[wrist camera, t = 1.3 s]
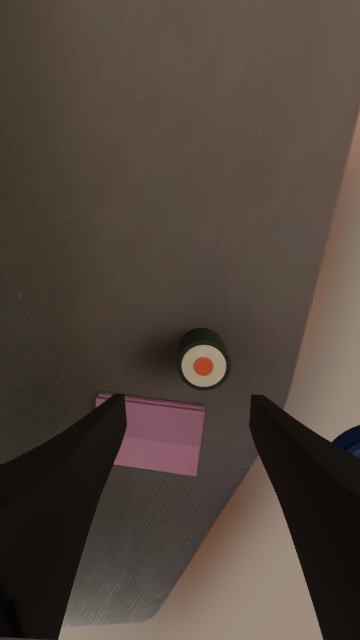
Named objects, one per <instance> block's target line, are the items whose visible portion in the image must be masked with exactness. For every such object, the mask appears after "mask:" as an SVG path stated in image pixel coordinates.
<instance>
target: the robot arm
mask: <svg viewBox="0 0 360 640" xmlns="http://www.w3.org/2000/svg"><path fill="white" fill-rule="evenodd" d="M249 427H250V431H251V434H252V437H253V440H254V444H255V446H256V449H257V451H258V453H259V456H260V458H261V460H262V463H263V465H264V467H265V469H266V471H267V474H268V476H269V478H270V481H271V483H272V485H273V487H274V490H275V492H276V494H277V496H278V499H279V502H280V505H281V507H282V510H283V513H284V516H285V519H286V522H287V525H288V527H289V531H290V533H291V537H292V540H293V542H294V545H295V549H296V552H297V555H298V558H299V561H300V564H301V567H302V570H303V573H304V577H305V580H306V583H307V586H308V589H309V593H310V596H311V599H312V602H313V606H314V609H315V612H316V615H317V619H318V622H319V626H320V629H321V633H322V636H323V639H324V640H360V458H359V457H357V456H355V455H353V454H351V453H349V452H347V451H346V450H344V449H342V448H340V447H338V446H337V445H335V444H333V443H332V442H330V441H328V440H326V439H325V438H323V437H321V436H320V435H318V434H317V433H315V432H313V431H312V430H311V429H309V428H308V427H306V426H304V425H303V424H301V423H300V422H299V421H297V420H296V419H295V418H293V417H292V416H290V415H289V414H288V413H286V412H285V411H284V410H282V409H281V408H280V407H278V406H277V405H276V404H274V403H273V402H272V401H271V400H269V399H268V398H266V397H265V396H264V395H251V408H250V422H249ZM126 428H127V417H126V405H125V394H114V395H112V396H111V397H109V398H108V399H107V400H105V401H104V402H103V403H102V404H100V405H99V406H98V407H97V408H95V409H94V410H93V411H91V412H90V413H89V414H87V415H86V416H85V417H83V418H82V419H81V420H79V421H78V422H76V423H75V424H73V425H72V426H71V427H69V428H68V429H66V430H65V431H63V432H62V433H60V434H58V435H57V436H55V437H53V438H52V439H50V440H48V441H47V442H45V443H43V444H42V445H40V446H38V447H36V448H34V449H32V450H30V451H28V452H26V453H25V454H23V455H21V456H19V457H17V458H15V459H13V460H11V461H8V462H6V463H4V464H2V465H0V640H58V637H59V634H60V630H61V626H62V623H63V619H64V615H65V612H66V608H67V604H68V601H69V597H70V593H71V590H72V586H73V583H74V580H75V576H76V573H77V569H78V566H79V562H80V559H81V555H82V552H83V549H84V546H85V542H86V539H87V536H88V533H89V529H90V526H91V523H92V520H93V517H94V514H95V511H96V508H97V504H98V501H99V498H100V496H101V493H102V491H103V488H104V486H105V483H106V481H107V478H108V476H109V474H110V471H111V469H112V466H113V464H114V462H115V459H116V457H117V454H118V452H119V450H120V447H121V445H122V442H123V438H124V435H125V431H126Z"/></svg>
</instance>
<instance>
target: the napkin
mask: <svg viewBox="0 0 360 640" xmlns="http://www.w3.org/2000/svg"><path fill="white" fill-rule="evenodd" d="M112 395H114V394H110V393H102V392H100V393H99V394H98V396H97V398H96V408H97V407H98V406H99V405H100V404H102V403H103V402H104V401H105V400H107V399H108V398H109V397H111V396H112ZM125 405H126V417H127V428H126V431H125V435H124V438H123V442H122V445H121V447H120V450H119V452H118V454H117V457H116V459H115V462H114V464H115V465H122V466H129V467H135V468H142V469H149V470H156V471H163V472H169V473H176V474H183V475H190V476H197V468H198V460H199V452H200V447H201V439H202V431H203V423H204V415H205V405H198V404H190V403H182V402H174V401H166V400H158V399H150V398H142V397H134V396H126V395H125Z"/></svg>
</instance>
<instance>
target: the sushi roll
mask: <svg viewBox="0 0 360 640" xmlns="http://www.w3.org/2000/svg"><path fill="white" fill-rule="evenodd" d="M230 368H231V362H230V358H229V355H228V353H227V351H226V349H225V347H224V344H223V342H222V340H221V338H220V337H219V335H218V334H217V333H215V332H214V331H212V330H210V329H207V328H197V329H194V330H192V331H190V332H189V333H187V334H186V336H185V337H184V338H183V340H182V343H181V347H180V351H179V356H178V360H177V369H178V373H179V375H180V377H181V379H182V380H183V381H184V382H185V383H186V384H187V385H189V386H190V387H192V388H194V389H198V390H210V389H214V388H216V387H218V386H220V385H221V384H222V383H223V382H224V381H225V380H226V379H227V377H228V375H229V373H230Z"/></svg>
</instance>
